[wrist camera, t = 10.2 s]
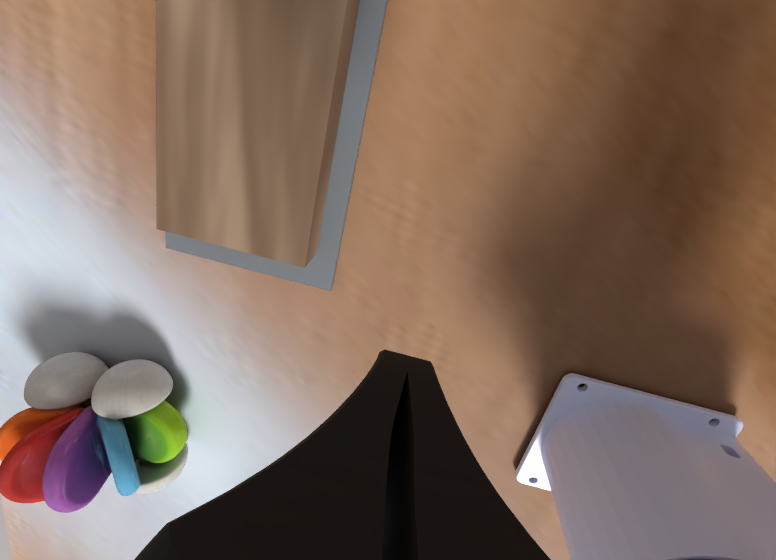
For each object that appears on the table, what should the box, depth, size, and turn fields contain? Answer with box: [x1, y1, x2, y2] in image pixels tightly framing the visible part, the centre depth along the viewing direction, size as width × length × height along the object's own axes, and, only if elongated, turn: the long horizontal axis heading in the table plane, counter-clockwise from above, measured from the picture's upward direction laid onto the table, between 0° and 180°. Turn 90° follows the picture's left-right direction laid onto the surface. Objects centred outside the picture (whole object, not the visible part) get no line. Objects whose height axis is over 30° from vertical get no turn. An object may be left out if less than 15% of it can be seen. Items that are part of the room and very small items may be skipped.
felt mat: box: [166, 0, 387, 291], centre depth 18 cm, size 9×16×1 cm, turn 167°
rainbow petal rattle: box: [0, 352, 188, 513], centre depth 23 cm, size 8×10×7 cm
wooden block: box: [156, 0, 360, 268], centre depth 17 cm, size 2×12×7 cm
